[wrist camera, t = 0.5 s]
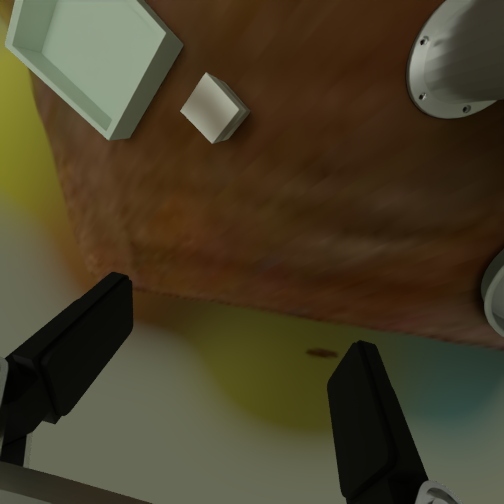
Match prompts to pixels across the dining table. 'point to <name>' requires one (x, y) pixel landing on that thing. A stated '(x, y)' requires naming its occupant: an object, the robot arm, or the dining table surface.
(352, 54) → the dining table surface
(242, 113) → the cream block
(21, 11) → the sage bin
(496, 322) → the cake pan
